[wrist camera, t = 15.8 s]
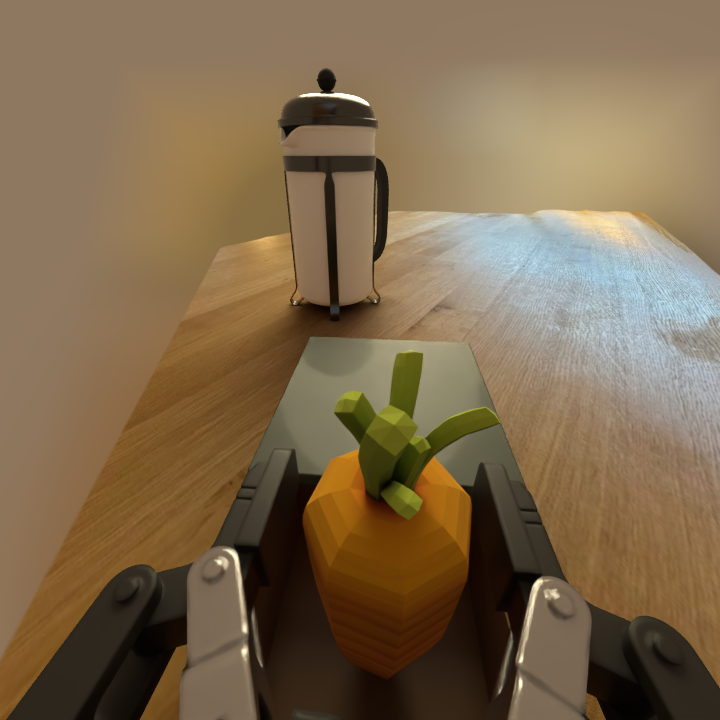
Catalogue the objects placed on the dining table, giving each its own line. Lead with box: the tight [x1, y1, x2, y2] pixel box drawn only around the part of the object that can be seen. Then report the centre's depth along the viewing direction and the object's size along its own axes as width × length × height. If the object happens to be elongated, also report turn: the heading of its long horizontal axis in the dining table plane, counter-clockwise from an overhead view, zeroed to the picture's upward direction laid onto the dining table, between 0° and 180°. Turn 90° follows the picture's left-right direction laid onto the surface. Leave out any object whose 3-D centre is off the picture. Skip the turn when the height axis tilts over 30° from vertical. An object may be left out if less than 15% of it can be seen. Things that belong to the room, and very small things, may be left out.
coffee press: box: [278, 68, 389, 320], centre depth 49 cm, size 17×16×30 cm
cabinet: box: [248, 336, 527, 497], centre depth 24 cm, size 15×14×8 cm
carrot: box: [303, 350, 500, 680], centre depth 11 cm, size 5×5×15 cm
